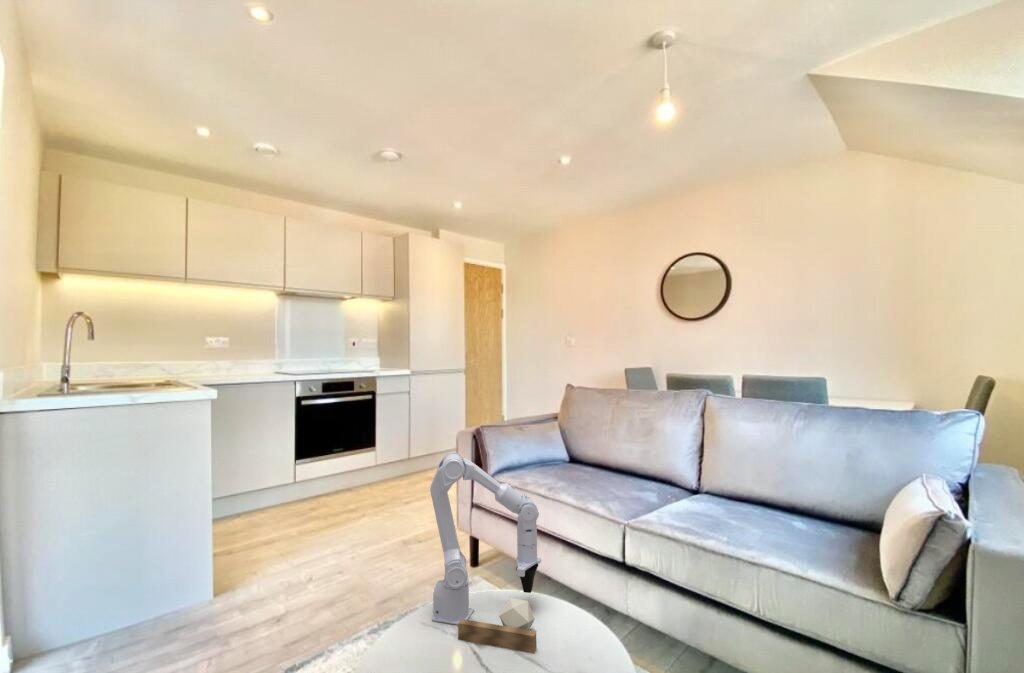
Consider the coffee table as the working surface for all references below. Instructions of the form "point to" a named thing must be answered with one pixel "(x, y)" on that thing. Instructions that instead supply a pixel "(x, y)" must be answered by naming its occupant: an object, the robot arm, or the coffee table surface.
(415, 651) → the coffee table surface
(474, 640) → the walnut board
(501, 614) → the die
